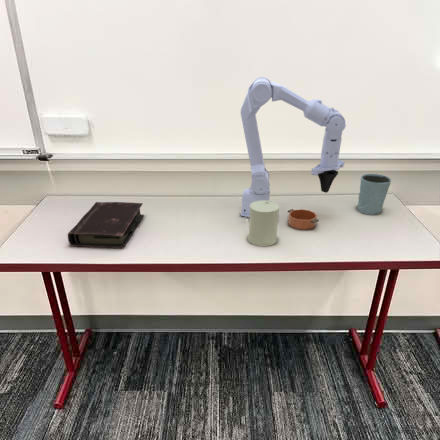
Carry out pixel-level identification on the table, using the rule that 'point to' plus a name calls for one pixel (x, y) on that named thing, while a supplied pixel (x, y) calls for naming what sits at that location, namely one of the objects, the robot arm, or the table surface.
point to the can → (263, 223)
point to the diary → (106, 225)
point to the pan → (302, 219)
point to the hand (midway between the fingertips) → (324, 191)
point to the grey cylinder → (372, 193)
